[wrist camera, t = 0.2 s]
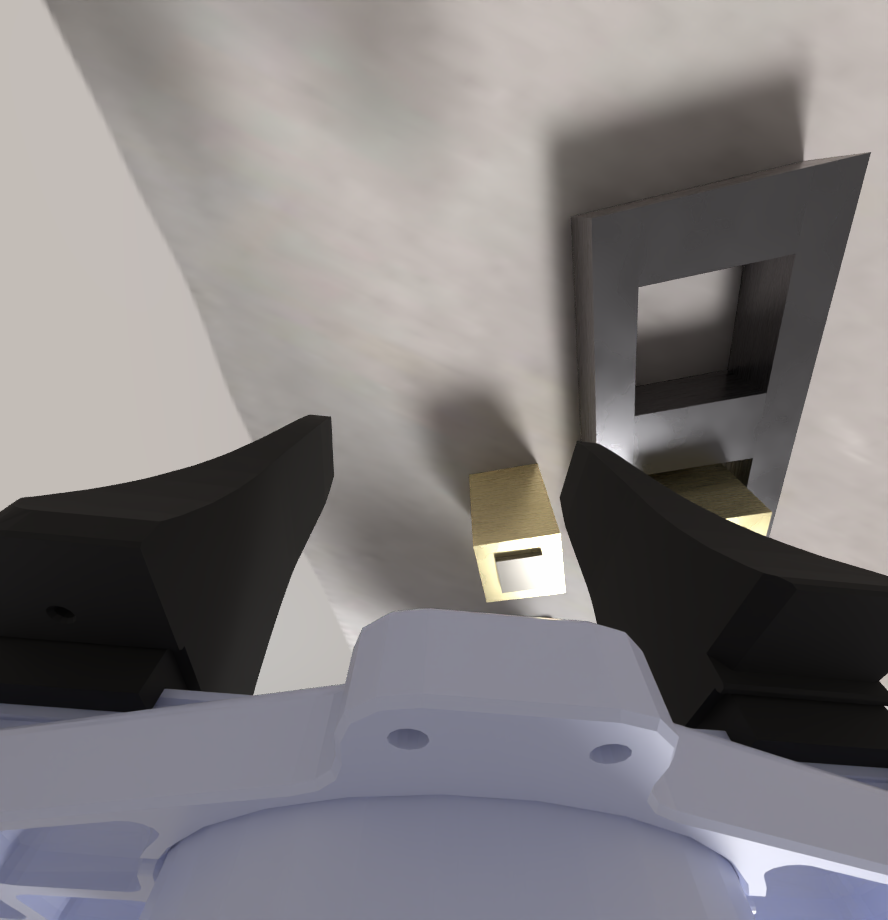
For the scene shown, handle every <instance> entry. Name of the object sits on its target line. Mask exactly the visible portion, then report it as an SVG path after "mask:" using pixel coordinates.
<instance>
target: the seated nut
mask: <svg viewBox="0 0 888 920" xmlns="http://www.w3.org/2000/svg"><path fill="white" fill-rule="evenodd" d="M648 476H650V477H651V478H653V479H655V480H656V481H658V482H659V483H661V484H662V485H664V486H666V487H667V488H669V489H671V490H672V491H674V492H676V493H677V494H679V495H681V496H682V497H684V498H686V499H688V500H689V501H691V502H693V503H695V504H697V505H699V506H701V507H703V508H705V509H707V510H708V511H710V512H712V513H714V514H716V515H718V516H720V517H722V518H725V519H727V520H729V521H731V522H733V523H736V524H738V525H740V526H743V527H745V528H747V529H750V530H752V531H754V532H757V533H759V534H761V535H764V536H766V534H767V530H768V527H769V523H770V519H771V515H772V511H771V510H770V509H769V508H767V507H766V506H765V505H764V504H763V503H762V502H761V501H760V500H759V499H758V498H757V497H756V496H755V495H754V494H753V493H752V492H751V491H750V490H749V489H748V488H747V487H746V486H745V485H743V484H742V483H741V482H740V481H739V480H738V479H737V478H736V477H735V476H734V475H733V474H732V473H731V472H730V471H729V470H728V469H727V468H726V467H725V466H724V465H723V464H722V463H718V464H712V465H705V466H699V467H693V468H686V469H680V470H674V471H667V472H661V473H654V474H648Z"/></svg>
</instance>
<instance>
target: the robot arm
mask: <svg viewBox="0 0 888 920" xmlns="http://www.w3.org/2000/svg"><path fill="white" fill-rule="evenodd" d="M333 477H334V467H333V447H332V426H331V417H328V416H318V415H308V416H305V417H303V418H300V419H298V420H296V421H294V422H292V423H290V424H288V425H286V426H285V427H283V428H281V429H279V430H277V431H275V432H273V433H271V434H269V435H267V436H265V437H263V438H261V439H259V440H257V441H254V442H252V443H250V444H248V445H245V446H243V447H241V448H239V449H237V450H234V451H232V452H230V453H227V454H225V455H222V456H220V457H217V458H215V459H212V460H209V461H206V462H203V463H200V464H197V465H194V466H191V467H187V468H184V469H180V470H176V471H172V472H169V473H166V474H162V475H158V476H154V477H150V478H146V479H141V480H137V481H132V482H127V483H122V484H117V485H111V486H106V487H100V488H94V489H88V490H81V491H73V492H66V493H58V494H50V495H43V496H34V497H24V498H20V499H18V500H17V501H15V502H14V503H12V504H11V505H9V506H8V507H6V508H5V509H4V510H2V511H1V512H0V920H888V710H887V709H886V708H885V707H884V706H888V691H887V689H886V688H885V687H884V686H883V685H882V684H881V683H880V682H879V680H880V679H882V678H883V677H884V676H885V675H886V674H887V673H888V576H886V575H883V574H879V573H876V572H873V571H869V570H866V569H863V568H859V567H856V566H852V565H849V564H846V563H842V562H839V561H835V560H832V559H829V558H825V557H822V556H819V555H816V554H813V553H810V552H807V551H805V550H802V549H799V548H796V547H793V546H790V545H787V544H785V543H782V542H779V541H777V540H774V539H772V538H769V537H766V536H764V535H761V534H759V533H757V532H754V531H752V530H750V529H747V528H745V527H743V526H740V525H738V524H736V523H733V522H731V521H729V520H727V519H725V518H722V517H720V516H718V515H716V514H714V513H712V512H710V511H708V510H707V509H705V508H703V507H701V506H699V505H697V504H695V503H693V502H691V501H689V500H688V499H686V498H684V497H682V496H681V495H679V494H677V493H676V492H674V491H672V490H671V489H669V488H667V487H666V486H664V485H662V484H661V483H659V482H658V481H656V480H655V479H653V478H651V477H650V476H648V475H647V474H645V473H644V472H642V471H641V470H639V469H638V468H636V467H635V466H633V465H632V464H631V463H629V462H628V461H626V460H625V459H623V458H622V457H620V456H619V455H617V454H616V453H614V452H613V451H611V450H609V449H608V448H606V447H604V446H602V445H600V444H598V443H591V442H581V441H577V443H576V446H575V450H574V453H573V456H572V459H571V463H570V466H569V469H568V472H567V476H566V479H565V482H564V485H563V489H562V492H561V495H560V501H561V507H562V513H563V517H564V522H565V526H566V529H567V532H568V535H569V538H570V541H571V544H572V546H573V549H574V552H575V555H576V557H577V560H578V563H579V566H580V568H581V571H582V574H583V576H584V579H585V582H586V585H587V587H588V591H589V594H590V597H591V600H592V604H593V608H594V613H595V617H596V621H597V624H595V623H592V622H588V621H577V620H565V619H553V618H541V617H529V616H518V615H506V614H494V613H482V612H470V611H458V610H446V609H434V608H423V609H412V610H401V611H393V612H391V613H389V614H387V615H385V616H383V617H381V618H380V619H378V620H376V621H374V622H372V623H371V624H369V625H367V626H365V627H363V628H362V630H361V633H360V635H359V637H358V640H357V642H356V644H355V646H354V649H353V653H352V657H351V662H350V666H349V670H348V674H347V679H346V683H345V684H340V685H331V686H324V687H316V688H308V689H300V690H293V691H285V692H277V693H270V694H262V695H253V694H254V690H255V686H256V682H257V679H258V676H259V673H260V669H261V666H262V663H263V659H264V656H265V653H266V650H267V646H268V643H269V640H270V636H271V634H272V630H273V628H274V624H275V621H276V618H277V615H278V612H279V609H280V606H281V603H282V600H283V598H284V595H285V592H286V589H287V586H288V583H289V581H290V578H291V575H292V572H293V570H294V568H295V565H296V563H297V561H298V559H299V557H300V555H301V553H302V551H303V549H304V547H305V545H306V543H307V541H308V539H309V537H310V535H311V533H312V530H313V528H314V526H315V524H316V522H317V520H318V518H319V516H320V514H321V512H322V510H323V508H324V505H325V503H326V500H327V497H328V494H329V491H330V488H331V484H332V481H333Z"/></svg>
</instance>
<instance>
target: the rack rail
mask: <svg viewBox="0 0 888 920" xmlns="http://www.w3.org/2000/svg"><path fill="white" fill-rule="evenodd" d="M870 154H871V152H869V153H861V154H853V155H846V156H838V157H831V158H823V159H815V160H808V161H802V162H798V163H794V164H789V165H785V166H781V167H777V168H773V169H768V170H764V171H760V172H756V173H752V174H748V175H743V176H739V177H735V178H731V179H727V180H722V181H718V182H714V183H710V184H706V185H701V186H697V187H693V188H689V189H685V190H681V191H676V192H672V193H668V194H664V195H660V196H655V197H651V198H647V199H643V200H639V201H634V202H630V203H626V204H622V205H618V206H614V207H609V208H605V209H601V210H597V211H593V212H588V213H584V214H580V215H576V216H572V217H571V229H572V251H573V274H574V296H575V318H576V340H577V363H578V385H579V407H580V429H581V442H591V443H598V444H600V445H602V446H604V447H606V448H608V449H609V450H611V451H613V452H614V453H616V454H617V455H619V456H620V457H622V458H623V459H625V460H626V461H628V462H629V463H631V464H632V465H633V466H635V467H636V468H638V469H639V470H641V471H642V472H644V473H645V474H647V475H648V474H654V473H661V472H667V471H674V470H680V469H686V468H693V467H699V466H705V465H712V464H718V463H722V464H723V465H724V466H725V467H726V468H727V469H728V470H729V471H730V472H731V473H732V474H733V475H734V476H735V477H736V478H737V479H738V480H739V481H740V482H741V483H742V484H743V485H745V486H746V487H747V488H748V489H749V490H750V491H751V492H752V493H753V494H754V495H755V496H756V497H757V498H758V499H759V500H760V501H761V502H762V503H763V504H764V505H765V506H766V507H767V508H769V509H770V510H771V511H772V515H771V519H770V523H769V527H768V530H767V534H766V537H769V535H770V531H771V528H772V524H773V520H774V516H775V512H776V509H777V505H778V501H779V497H780V494H781V490H782V486H783V482H784V478H785V475H786V471H787V467H788V463H789V460H790V456H791V452H792V448H793V444H794V441H795V437H796V433H797V429H798V426H799V422H800V418H801V414H802V410H803V407H804V403H805V399H806V395H807V392H808V388H809V384H810V380H811V376H812V373H813V369H814V365H815V361H816V358H817V354H818V350H819V346H820V342H821V339H822V335H823V331H824V327H825V324H826V320H827V316H828V312H829V308H830V305H831V301H832V297H833V293H834V290H835V286H836V282H837V278H838V274H839V271H840V267H841V263H842V259H843V256H844V252H845V248H846V244H847V240H848V237H849V233H850V229H851V225H852V222H853V218H854V214H855V210H856V206H857V203H858V199H859V195H860V191H861V188H862V184H863V180H864V176H865V172H866V169H867V165H868V161H869V157H870ZM740 265H744V267H743V273H742V280H741V286H740V293H739V299H738V306H737V313H736V319H735V326H734V332H733V339H732V345H731V352H730V359H729V365H728V370H724V371H719V372H714V373H708V374H703V375H697V376H692V377H686V378H681V379H675V380H670V381H665V382H659V383H654V384H648V385H643V386H637V387H635V378H636V346H637V313H638V287H642V286H646V285H651V284H656V283H660V282H665V281H670V280H674V279H679V278H684V277H688V276H693V275H698V274H703V273H707V272H712V271H717V270H721V269H726V268H731V267H735V266H740Z"/></svg>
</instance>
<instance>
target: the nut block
mask: <svg viewBox="0 0 888 920" xmlns="http://www.w3.org/2000/svg"><path fill="white" fill-rule="evenodd" d="M469 482H470V499H471V516H472V534H473V547H474V552H475V556H476V560H477V564H478V568H479V573H480V577H481V581H482V585H483V589H484V594H485V598H486V602H495V601H503V600H511V599H519V598H527V597H535V596H543V595H551V594H559V593H565V582H564V571H563V559H562V548H561V536H560V531H559V528H558V525H557V522H556V519H555V516H554V513H553V510H552V507H551V504H550V501H549V498H548V495H547V492H546V488H545V485H544V482H543V479H542V476H541V473H540V470H539V467H538V464H531V465H525V466H519V467H513V468H507V469H501V470H495V471H489V472H483V473H477V474H471V475H469Z"/></svg>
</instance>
